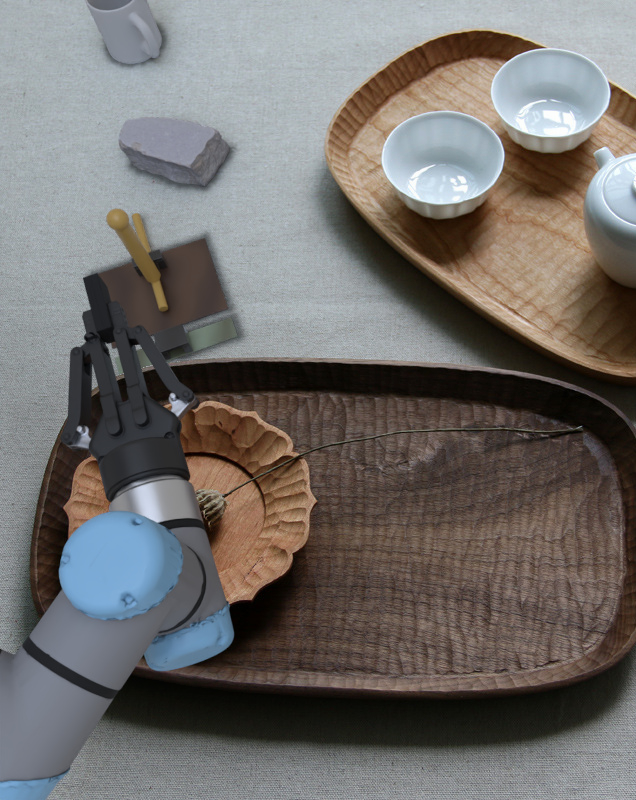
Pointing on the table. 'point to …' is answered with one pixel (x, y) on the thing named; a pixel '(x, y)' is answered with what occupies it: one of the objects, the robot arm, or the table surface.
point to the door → (172, 301)
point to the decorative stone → (174, 148)
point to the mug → (127, 29)
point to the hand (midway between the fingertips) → (95, 282)
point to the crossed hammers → (138, 249)
